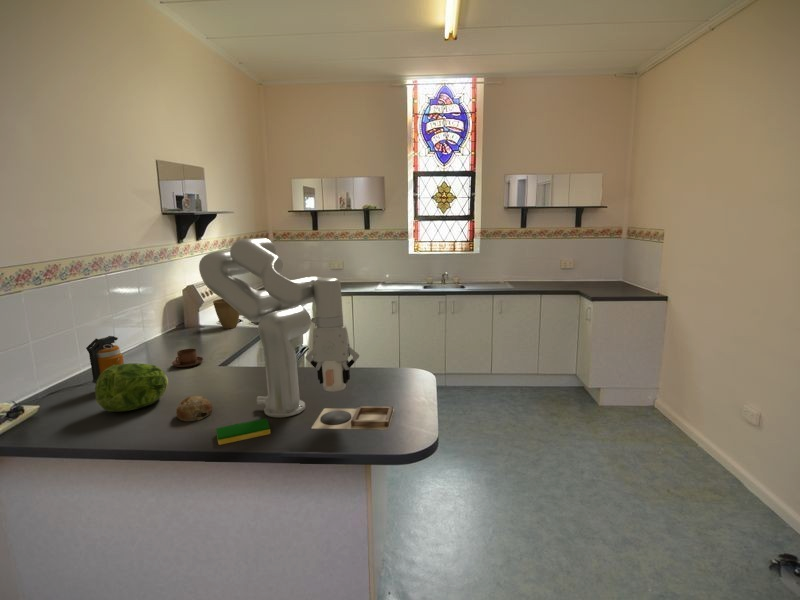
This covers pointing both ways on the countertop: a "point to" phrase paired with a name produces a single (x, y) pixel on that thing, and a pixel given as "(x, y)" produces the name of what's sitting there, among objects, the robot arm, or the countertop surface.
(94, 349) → the canister
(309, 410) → the countertop surface
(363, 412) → the jug stand
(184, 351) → the cup and saucer
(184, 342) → the countertop surface
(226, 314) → the plant pot
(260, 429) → the dish sponge
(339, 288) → the robot arm
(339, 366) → the jug
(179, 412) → the bread roll
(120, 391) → the lettuce
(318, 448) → the countertop surface
